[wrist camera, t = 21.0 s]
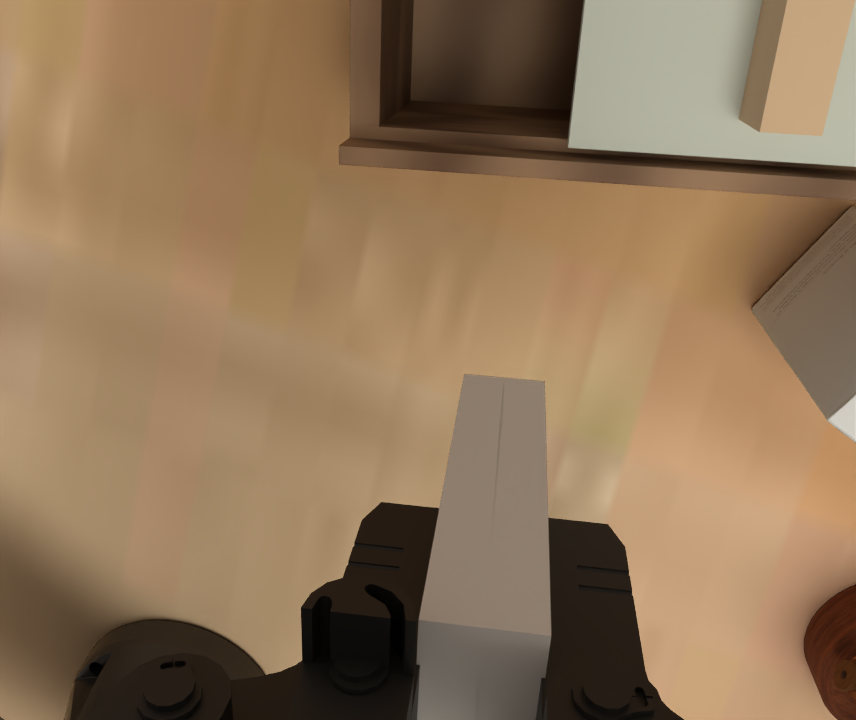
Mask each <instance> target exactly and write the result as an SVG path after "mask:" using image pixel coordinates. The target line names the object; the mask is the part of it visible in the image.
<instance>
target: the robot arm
mask: <svg viewBox="0 0 856 720" xmlns="http://www.w3.org/2000/svg"><path fill="white" fill-rule="evenodd" d="M301 623H302V661H301V662H299V663H298V664H297V665H295V666H292V667H290V668H288V669H285V670H283V671H281V672H277V673H273V674H268V675H264V674H263V672H262V671H261V670H260V669H259V667H258V666H257V665H256V664H255V663H254V662H253V661H252V660H251V659H250V658H249V657H248V656H247V655H246V654H245V653H244V652H242V651H241V650H240V649H239V648H237V647H236V646H234V645H233V644H231V643H230V642H228V641H227V640H225V639H223V638H221V637H219V636H218V635H216V634H213V633H211V632H209V631H206V630H204V629H201V628H198V627H195V626H192V625H188V624H183V623H178V622H172V621H142V622H136V623H132V624H128V625H125V626H122V627H120V628H117V629H115V630H113V631H112V632H110V633H108V634H107V635H106V636H104V637H103V638H102V639H101V640H100V641H99V642H98V643H97V644H96V645H95V647H94V648H93V650H92V651H91V653H90V654H89V656H88V657H87V659H86V660H85V661H84V663H83V664H82V666H81V667H80V669H79V671H78V673H77V675H76V677H75V680H74V682H73V686H72V690H71V694H70V698H69V702H68V706H67V710H66V714H65V718H64V720H684V719H682V718H681V717H680V716H678V715H677V714H675V713H674V712H673V711H671V710H670V709H669V708H668V707H667V706H666V705H665V704H664V703H663V702H662V701H661V698H660V696H659V694H658V691H657V689H656V688H655V687H654V686H653V685H652V684H651V683H650V682H649V681H648V678H647V675H646V672H645V666H644V660H643V654H642V648H641V642H640V636H639V630H638V624H637V618H636V611H635V605H634V599H633V596H632V587H631V581H630V576H629V569H628V562H627V556H626V550H625V546H624V545H623V544H622V542H621V541H620V540H619V538H618V537H617V536H616V534H615V533H614V532H613V530H612V529H611V528H610V527H609V525H608V524H600V523H591V522H582V521H572V520H563V519H554V518H548V489H547V450H546V412H545V381H536V380H525V379H514V378H504V377H493V376H482V375H471V374H464V378H463V384H462V389H461V395H460V400H459V405H458V411H457V416H456V421H455V427H454V432H453V438H452V443H451V448H450V454H449V459H448V465H447V470H446V475H445V481H444V486H443V491H442V497H441V502H440V508H431V507H421V506H412V505H403V504H393V503H384V502H381V503H380V504H379V505H378V506H377V507H376V508H375V509H373V510H372V511H371V512H370V513H369V514H368V515H367V516H366V517H365V518H364V519H363V520H362V522H361V525H360V528H359V531H358V534H357V537H356V540H355V545H354V547H353V549H352V552H351V555H350V558H349V563H348V566H347V567H346V570H345V573H344V576H343V578H341V579H338V580H334V581H331V582H328V583H326V584H324V585H323V586H321V587H320V588H318V589H317V590H315V591H314V592H312V593H311V594H310V595H309V597H308V598H307V600H306V601H305V603H304V604H303V606H302V607H301ZM0 720H4V719H3V718H1V717H0Z"/></svg>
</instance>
